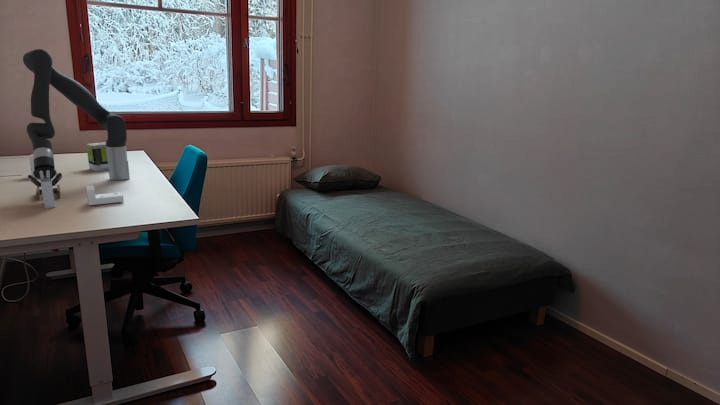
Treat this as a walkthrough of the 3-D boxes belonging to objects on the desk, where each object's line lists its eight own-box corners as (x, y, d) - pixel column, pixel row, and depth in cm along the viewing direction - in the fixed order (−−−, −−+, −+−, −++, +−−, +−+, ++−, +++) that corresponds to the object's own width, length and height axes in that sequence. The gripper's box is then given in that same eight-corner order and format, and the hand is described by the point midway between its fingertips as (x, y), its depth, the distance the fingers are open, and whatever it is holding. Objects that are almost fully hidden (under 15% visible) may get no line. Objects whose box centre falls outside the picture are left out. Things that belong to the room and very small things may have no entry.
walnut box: (60, 192, 224) (59, 184, 223) (60, 198, 213) (59, 190, 212) (38, 194, 219) (37, 186, 218) (37, 201, 208) (36, 192, 207)
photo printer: (54, 174, 259) (51, 151, 256) (55, 176, 256) (52, 152, 253) (31, 176, 254) (28, 153, 250) (31, 177, 250) (28, 154, 247)
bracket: (89, 207, 201) (87, 189, 199) (88, 203, 207) (86, 186, 205) (123, 203, 208) (122, 186, 206) (121, 200, 214) (119, 183, 212)
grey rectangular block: (53, 202, 207) (49, 176, 204) (55, 207, 199) (51, 181, 196) (43, 203, 205) (39, 177, 202) (45, 208, 197) (41, 182, 194)
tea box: (116, 166, 287) (114, 141, 283) (122, 168, 280) (120, 143, 276) (88, 168, 276) (85, 143, 273) (94, 171, 269) (91, 145, 266)
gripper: (24, 156, 206) (26, 190, 199) (60, 154, 212) (64, 187, 205) (26, 166, 212) (29, 199, 205) (62, 164, 218) (65, 196, 211)
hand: (47, 193), depth 205 cm, fingers closed
